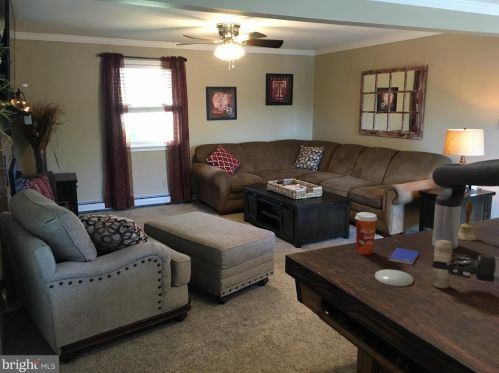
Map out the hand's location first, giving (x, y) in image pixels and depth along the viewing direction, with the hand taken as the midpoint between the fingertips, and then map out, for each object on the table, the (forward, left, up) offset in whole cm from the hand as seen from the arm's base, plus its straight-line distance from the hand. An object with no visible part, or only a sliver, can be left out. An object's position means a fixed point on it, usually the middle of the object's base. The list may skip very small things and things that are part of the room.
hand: (433, 261), depth 132 cm
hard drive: (-22, -10, -9) cm, 25 cm away
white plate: (0, -11, -8) cm, 14 cm away
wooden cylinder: (0, +3, -7) cm, 8 cm away
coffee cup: (-21, -24, -8) cm, 33 cm away
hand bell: (-56, +12, -8) cm, 58 cm away
